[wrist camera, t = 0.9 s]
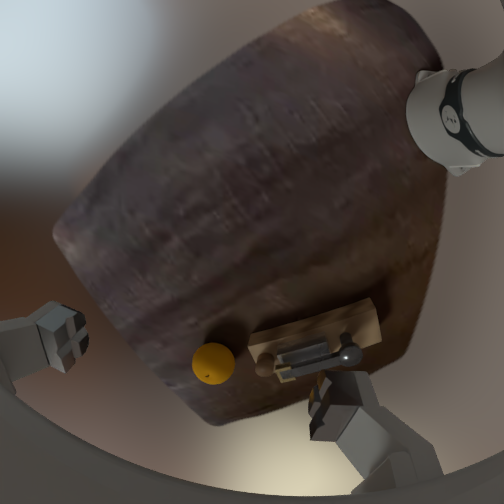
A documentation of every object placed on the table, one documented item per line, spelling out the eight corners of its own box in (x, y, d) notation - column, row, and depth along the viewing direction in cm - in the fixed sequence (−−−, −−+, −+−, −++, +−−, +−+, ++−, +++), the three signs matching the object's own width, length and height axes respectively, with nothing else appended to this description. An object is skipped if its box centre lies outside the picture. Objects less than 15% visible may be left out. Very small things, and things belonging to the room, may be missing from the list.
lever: (358, 339, 37) (360, 344, 35) (362, 356, 37) (364, 362, 36) (274, 363, 40) (274, 369, 38) (282, 378, 40) (281, 384, 39)
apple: (229, 373, 51) (221, 398, 44) (193, 357, 51) (181, 381, 44) (243, 346, 49) (237, 372, 42) (204, 330, 49) (192, 353, 42)
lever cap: (324, 331, 41) (326, 341, 38) (331, 353, 42) (333, 364, 40) (277, 344, 43) (276, 355, 40) (286, 365, 44) (286, 376, 41)
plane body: (369, 297, 43) (382, 320, 36) (376, 328, 44) (387, 353, 37) (250, 333, 48) (244, 360, 40) (264, 361, 49) (260, 389, 42)
